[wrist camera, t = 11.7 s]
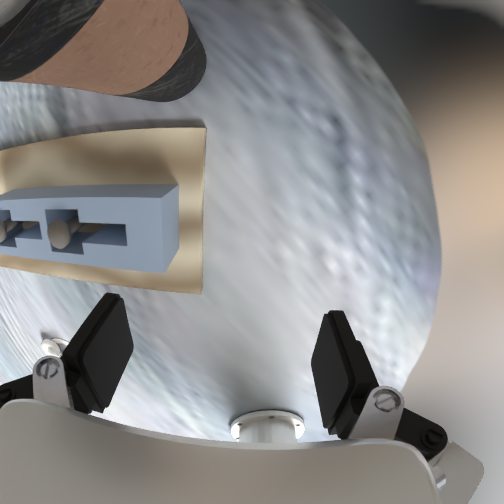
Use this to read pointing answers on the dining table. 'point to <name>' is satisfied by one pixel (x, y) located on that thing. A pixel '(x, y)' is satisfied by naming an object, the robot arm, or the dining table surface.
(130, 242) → the blue slotted peg holder
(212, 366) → the dining table surface
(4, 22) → the travel mug
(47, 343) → the white curved piece
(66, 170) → the board
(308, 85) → the dining table surface
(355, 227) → the dining table surface
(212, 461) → the robot arm
